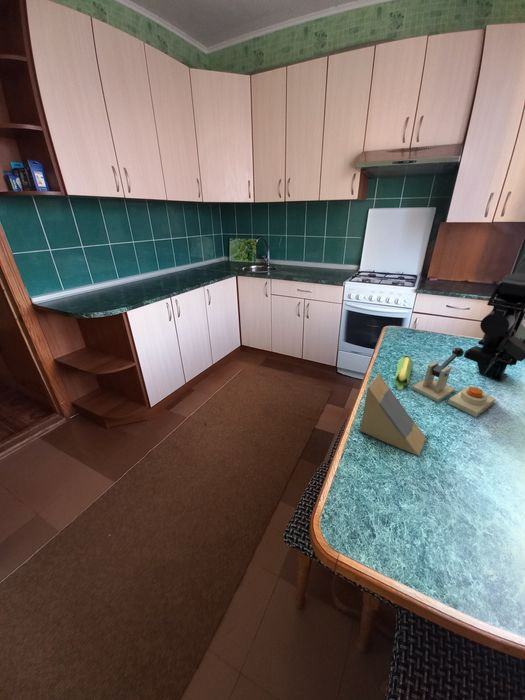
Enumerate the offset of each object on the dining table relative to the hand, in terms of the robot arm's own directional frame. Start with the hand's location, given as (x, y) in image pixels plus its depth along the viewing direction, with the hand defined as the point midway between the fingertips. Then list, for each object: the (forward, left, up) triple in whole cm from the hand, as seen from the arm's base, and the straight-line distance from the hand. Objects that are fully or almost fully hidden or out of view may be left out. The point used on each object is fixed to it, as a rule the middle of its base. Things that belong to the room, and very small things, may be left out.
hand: (482, 373), depth 86 cm
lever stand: (+3, -10, -11) cm, 15 cm away
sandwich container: (+32, -5, -11) cm, 34 cm away
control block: (0, 0, -11) cm, 11 cm away
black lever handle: (-3, -11, -3) cm, 11 cm away
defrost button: (0, 0, -8) cm, 8 cm away
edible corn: (+4, -21, -11) cm, 24 cm away
